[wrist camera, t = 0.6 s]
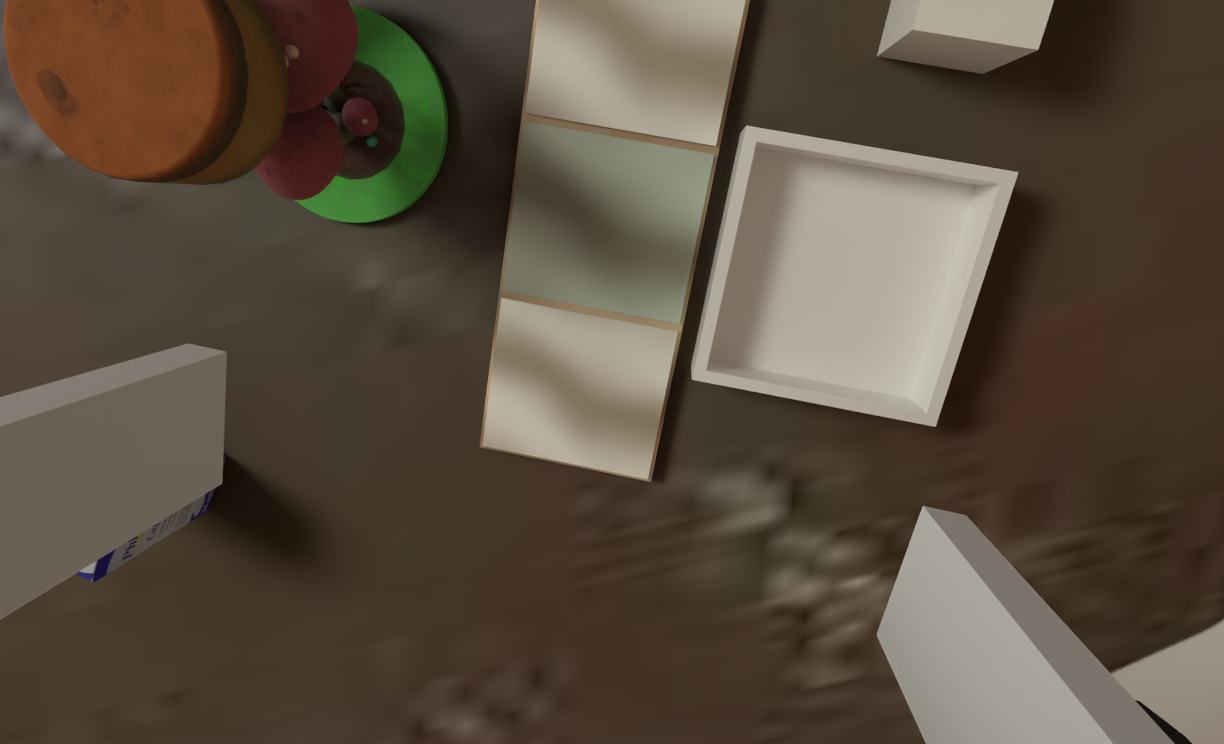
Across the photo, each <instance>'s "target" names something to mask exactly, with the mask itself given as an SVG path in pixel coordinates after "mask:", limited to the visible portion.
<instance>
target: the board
mask: <svg viewBox="0 0 1224 744" xmlns="http://www.w3.org/2000/svg"><path fill="white" fill-rule="evenodd" d="M749 2H750V0H536V6H535V14H534V22H533V30H532V38H531V46H530V54H529V62H528V69H527V77H526V85H525V93H524V101H523V109H522V117H521V125H520V133H519V140H518V148H517V156H516V164H515V172H514V180H513V188H512V196H511V204H510V211H509V219H508V227H507V235H506V243H505V251H504V259H503V267H502V275H501V282H500V290H499V298H498V306H497V314H496V322H495V330H494V338H493V346H492V353H491V361H490V369H489V377H488V385H487V393H486V401H485V409H484V417H483V424H482V432H481V440H480V447H482V448H487V449H492V450H496V451H501V452H506V453H511V454H516V455H521V456H526V457H531V458H536V459H541V460H546V461H551V462H556V463H560V464H565V465H570V466H575V467H580V468H585V469H590V470H595V471H600V472H605V473H610V474H615V475H619V476H624V477H629V478H634V479H639V480H644V481H649V482H651V479H652V474H653V469H654V464H655V459H656V454H657V450H658V445H659V440H660V435H661V430H662V425H663V420H664V415H665V411H666V406H667V401H668V396H669V391H670V386H671V381H672V377H673V372H674V367H675V362H676V357H677V352H678V347H679V343H680V338H681V333H682V328H683V323H684V318H685V313H686V309H687V304H688V299H689V294H690V289H691V284H692V279H693V274H694V270H695V265H696V260H697V255H698V250H699V245H700V240H701V236H702V231H703V226H704V221H705V216H706V211H707V206H708V202H709V197H710V192H711V187H712V182H713V177H714V172H715V168H716V163H717V158H718V153H719V148H720V143H721V138H722V133H723V129H724V124H725V119H726V114H727V109H728V104H729V99H730V95H731V90H732V85H733V80H734V75H735V70H736V65H737V61H738V56H739V51H740V46H741V41H742V36H743V31H744V27H745V22H746V17H747V12H748V7H749Z"/></svg>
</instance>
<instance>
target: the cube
mask: <svg viewBox="0 0 1224 744" xmlns="http://www.w3.org/2000/svg"><path fill="white" fill-rule="evenodd" d="M1053 2H1054V0H891V4H890V8H889V12H888V16H887V20H886V24H885V27H884V31H883V35H882V39H881V43H880V47H879V51H878V55H877V57H883V58H889V59H895V60H901V61H907V62H914V63H920V64H926V65H932V66H938V67H944V68H950V69H956V70H962V71H968V72H974V73H981V74H984V73H986V72H988V71H991V70H993V69H995V68H998V67H1000V66H1002V65H1005V64H1007V63H1009V62H1011V61H1014V60H1016V59H1018V58H1021V57H1023V56H1025V55H1028V54H1030V53H1032V52H1035V51H1037V50H1038V49H1039V46H1040V43H1041V40H1042V37H1043V34H1044V30H1045V27H1046V24H1047V21H1048V18H1049V15H1050V12H1051V8H1052V5H1053Z"/></svg>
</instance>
